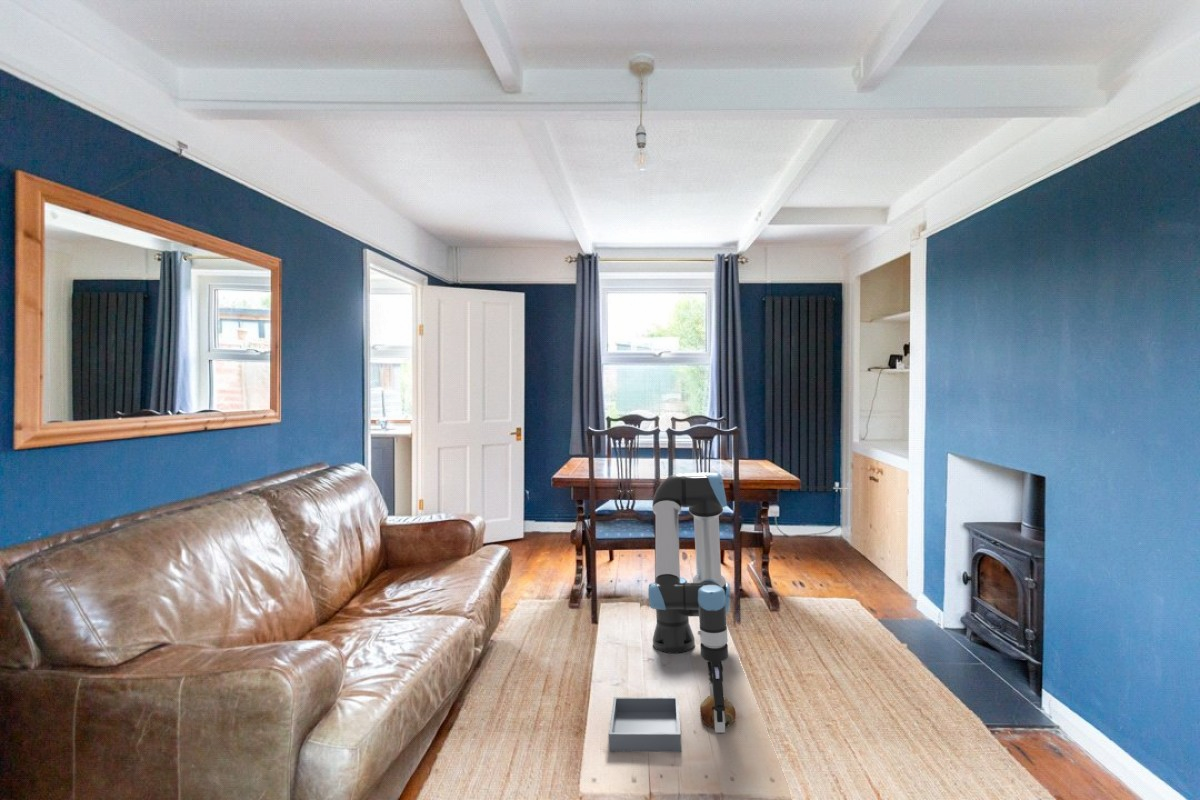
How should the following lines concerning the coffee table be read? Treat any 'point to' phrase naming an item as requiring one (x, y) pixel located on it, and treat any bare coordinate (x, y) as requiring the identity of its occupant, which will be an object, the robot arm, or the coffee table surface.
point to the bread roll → (708, 713)
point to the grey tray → (645, 724)
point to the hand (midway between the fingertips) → (717, 718)
